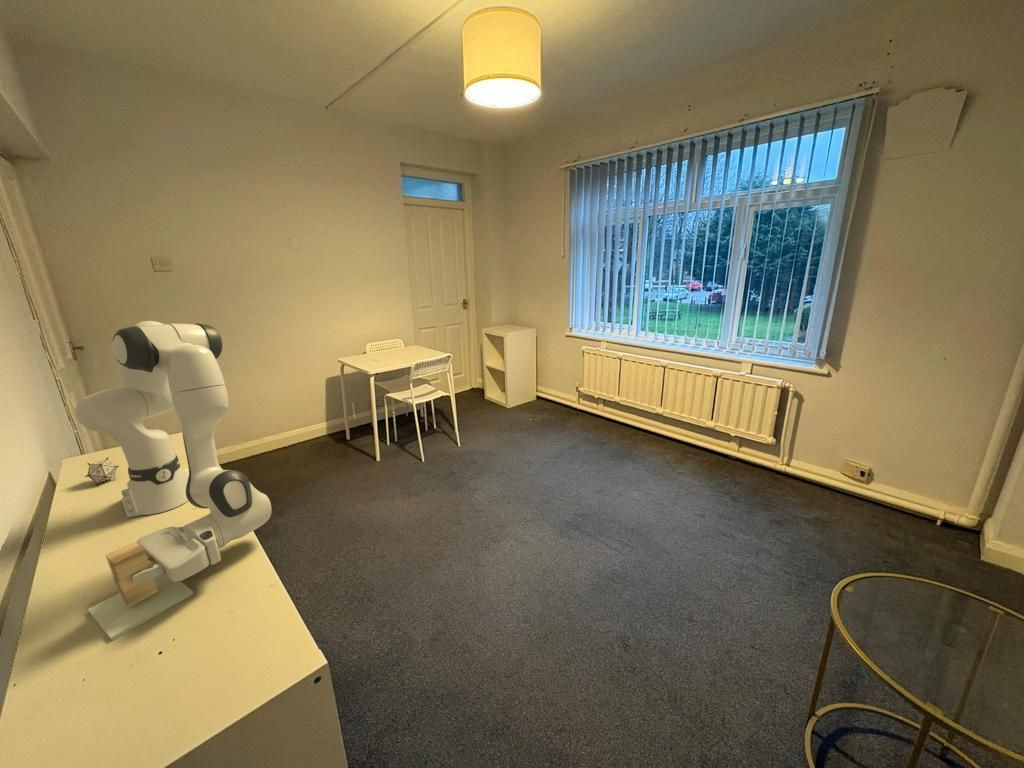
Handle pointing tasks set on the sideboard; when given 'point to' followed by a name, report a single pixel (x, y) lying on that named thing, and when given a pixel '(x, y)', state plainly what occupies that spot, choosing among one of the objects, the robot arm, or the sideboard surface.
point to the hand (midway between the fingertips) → (126, 574)
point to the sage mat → (138, 607)
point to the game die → (101, 471)
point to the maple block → (127, 564)
